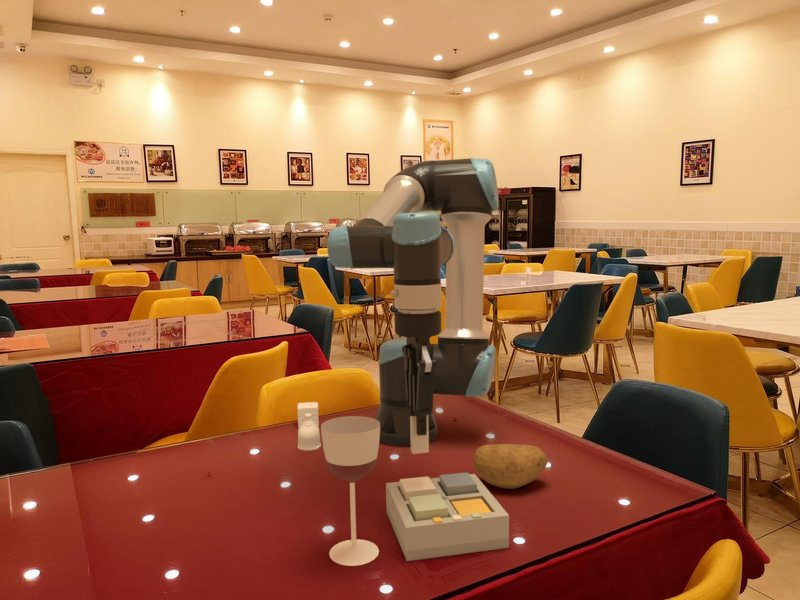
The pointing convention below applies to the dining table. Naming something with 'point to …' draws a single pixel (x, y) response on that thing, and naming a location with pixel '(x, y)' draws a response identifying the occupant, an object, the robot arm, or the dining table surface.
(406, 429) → the robot arm
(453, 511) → the keypad
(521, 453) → the potato
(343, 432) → the wineglass
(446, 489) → the key slate
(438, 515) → the key sage
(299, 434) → the container set
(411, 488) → the key ivory
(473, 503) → the key amber
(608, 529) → the dining table surface
